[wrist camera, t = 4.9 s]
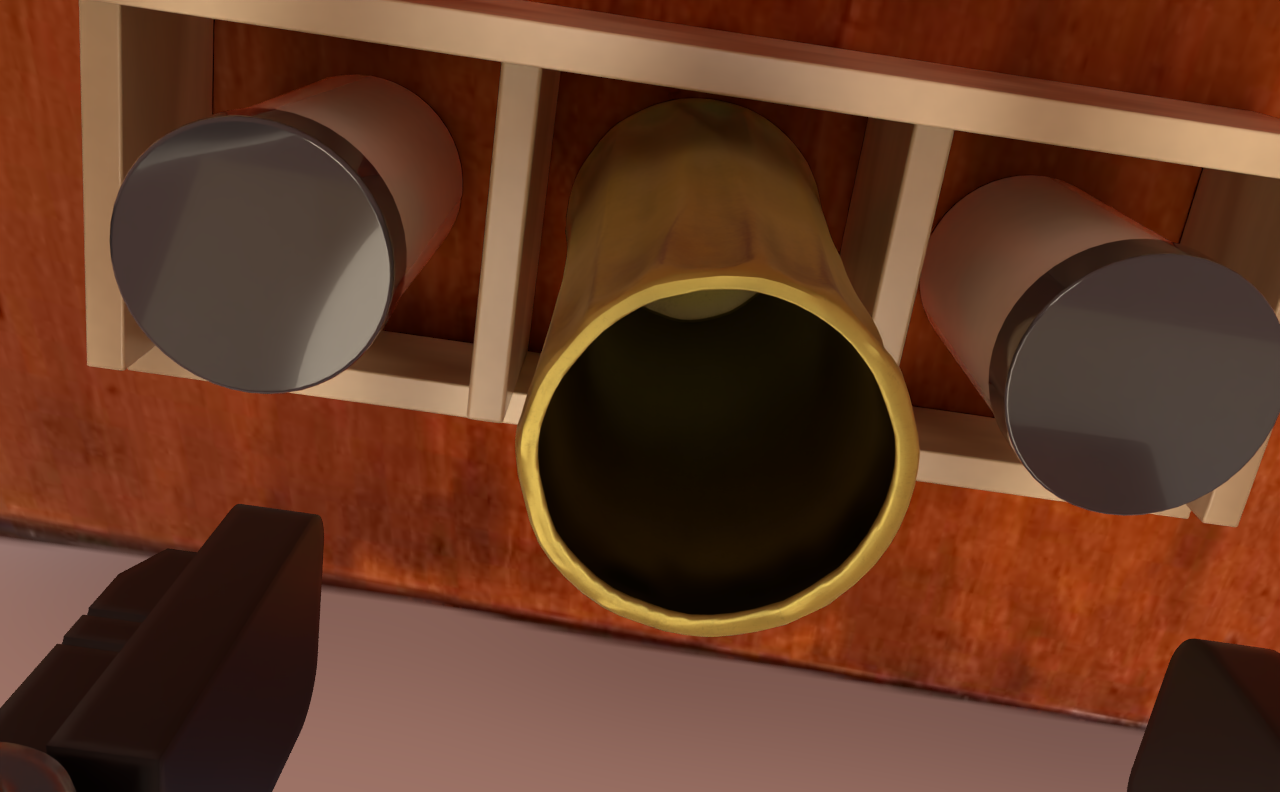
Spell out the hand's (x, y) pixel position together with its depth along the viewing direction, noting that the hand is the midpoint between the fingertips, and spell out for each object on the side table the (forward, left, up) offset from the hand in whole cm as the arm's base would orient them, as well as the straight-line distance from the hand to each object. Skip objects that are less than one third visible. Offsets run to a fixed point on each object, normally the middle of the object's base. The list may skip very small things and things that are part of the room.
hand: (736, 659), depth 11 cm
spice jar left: (-8, 0, -19) cm, 20 cm away
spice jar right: (+8, 0, -19) cm, 20 cm away
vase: (0, 0, -19) cm, 19 cm away
